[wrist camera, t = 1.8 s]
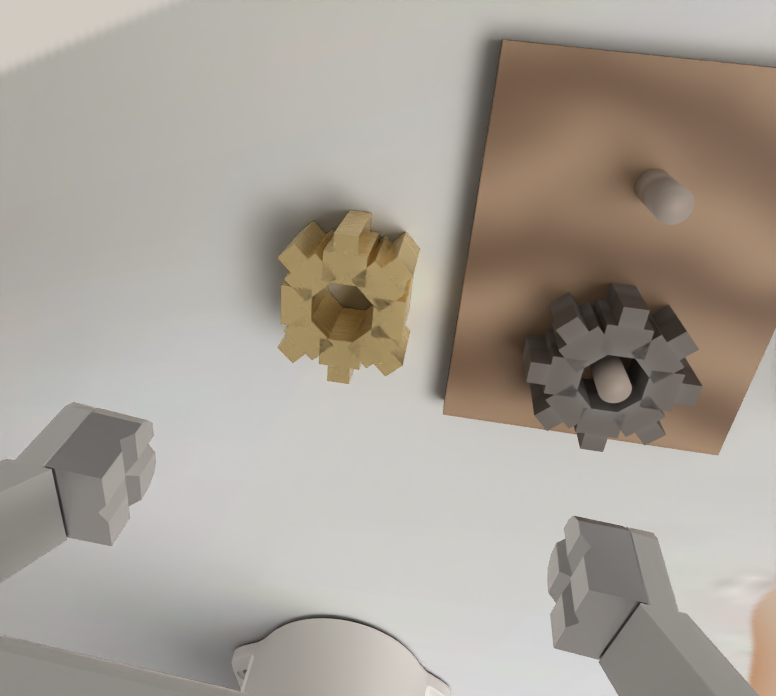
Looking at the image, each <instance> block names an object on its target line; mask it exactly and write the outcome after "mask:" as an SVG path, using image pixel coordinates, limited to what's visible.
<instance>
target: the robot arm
mask: <svg viewBox="0 0 776 696" xmlns="http://www.w3.org/2000/svg"><path fill="white" fill-rule="evenodd" d="M153 436H154V433H153V425H152V422H150V421H148V420H144V419H140V418H136V417H132V416H128V415H124V414H120V413H116V412H112V411H109V410H105V409H101V408H95V407H91V406H87V405H83V404H79V403H75V402H73V403H71V404H69V405H67V406H65V407H64V408H63V409H62V410H61V411H60V412H59V413H58V415H57V416H56V417H55V418H54V419H53V420H52V421H51V422H50V423H49V424H48V425H47V426H46V427H45V429H44V430H43V431H42V432H41V433H40V434H39V435H38V436H37V437H36V438H35V439H34V440H33V441H32V443H31V444H30V445H29V446H28V447H27V448H26V449H25V450H24V451H23V452H22V453H21V454H20V455H19V456H18V458H17V459H16V460H10V459H6V460H3V461H1V462H0V583H1V582H3V581H4V580H6V579H7V578H9V577H10V576H12V575H14V574H15V573H17V572H18V571H20V570H21V569H23V568H24V567H26V566H27V565H29V564H30V563H32V562H33V561H35V560H37V559H38V558H40V557H41V556H43V555H44V554H46V553H47V552H49V551H50V550H52V549H53V548H55V547H56V546H58V545H60V544H61V543H63V542H64V541H66V540H67V538H66V537H69V538H74V539H79V540H84V541H89V542H94V543H99V544H104V545H108V546H112V545H113V544H114V542H115V541H116V539H117V537H118V536H119V534H120V533H121V531H122V530H123V528H124V526H125V525H126V523H127V522H128V520H129V519H130V513H129V506H130V505H132V504H134V503H136V502H138V501H140V500H141V499H142V498H143V496H144V495H145V493H146V491H147V490H148V488H149V485H150V483H151V480H152V477H153V475H154V470H155V463H156V458H155V452H154V450H153V449H152V448H151V447H150V445H149V442H150V441H151V439H152V438H153ZM564 532H565V539H564V540H562V541H560V542H558V543H556V545H555V547H554V549H553V551H552V554H551V557H550V561H549V566H548V579H547V581H548V592H549V594H550V595H551V597H552V598H553V599H554V601H555V602H556V605H555V607H554V608H553V610H552V612H551V614H550V616H551V626H552V636H553V647H554V648H556V649H560V650H564V651H567V652H571V653H575V654H579V655H583V656H587V657H591V658H594V659H598V660H600V661H599V663H600V665H601V667H602V668H603V670H604V672H605V674H606V675H607V677H608V679H609V680H610V682H611V684H612V685H613V687H614V689H615V690H616V692H617V694H618V695H619V696H759V695H758V694H757V693H756V691H755V690H754V689H753V688H752V687H751V686H750V685H749V684H748V682H747V681H746V680H745V679H744V678H743V677H742V676H741V674H740V673H739V672H738V671H737V670H736V669H735V668H734V667H733V665H732V664H731V663H730V662H729V661H728V660H727V659H726V657H725V656H724V655H723V654H722V653H721V652H720V651H719V650H718V648H717V647H716V646H715V645H714V644H713V643H712V642H711V640H710V639H709V638H708V637H707V636H706V635H705V634H704V633H703V631H702V630H701V629H700V628H699V627H698V626H697V625H696V623H695V622H694V621H693V620H692V619H691V618H690V617H689V616H688V614H685V613H681V612H679V610H678V607H677V603H676V600H675V596H674V593H673V590H672V586H671V583H670V579H669V576H668V572H667V569H666V566H665V562H664V559H663V555H662V552H661V549H660V545H659V542H658V538H657V537H656V536H655V534H654V533H651V532H646V531H642V530H637V529H633V528H628V527H623V526H619V525H615V524H610V523H605V522H601V521H596V520H591V519H587V518H582V517H577V516H572V517H571V518H570V519H569V520H568V522H567V524H566V526H565V527H564ZM231 664H232V668H233V670H234V673H235V676H236V679H237V682H238V684H239V687H240V690H241V691H238V690H233V689H229V688H225V687H220V686H216V685H212V684H208V683H203V682H199V681H195V680H191V679H186V678H182V677H178V676H173V675H169V674H165V673H161V672H156V671H152V670H148V669H144V668H139V667H135V666H131V665H126V664H122V663H118V662H114V661H109V660H105V659H101V658H97V657H92V656H88V655H84V654H80V653H75V652H71V651H67V650H63V649H58V648H54V647H50V646H45V645H41V644H37V643H33V642H28V641H24V640H20V639H16V638H11V637H7V636H3V635H0V696H451V690H450V688H449V687H448V686H447V685H446V684H445V683H443V682H442V681H441V680H439V679H437V678H436V677H434V676H433V675H431V674H429V673H428V672H426V671H425V670H424V669H423V667H422V666H421V665H420V664H419V662H418V661H417V660H416V658H415V657H414V656H413V655H412V653H411V652H410V651H409V650H408V649H406V648H405V647H404V646H403V645H402V644H400V643H399V642H398V641H396V640H395V639H393V638H392V637H390V636H388V635H386V634H384V633H382V632H380V631H378V630H376V629H373V628H371V627H368V626H365V625H362V624H359V623H355V622H351V621H346V620H339V619H328V618H316V619H305V620H300V621H295V622H292V623H289V624H286V625H284V626H282V627H280V628H278V629H276V630H275V631H273V632H272V633H271V634H270V635H268V636H267V637H266V638H265V639H263V640H262V641H260V642H256V643H252V644H248V645H244V646H241V647H239V648H237V649H236V650H235V651H234V654H233V658H232V662H231Z"/></svg>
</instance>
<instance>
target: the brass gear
mask: <svg viewBox="0 0 776 696" xmlns="http://www.w3.org/2000/svg"><path fill="white" fill-rule="evenodd" d="M371 215H372V213H369V212H361V211H353V210H349V212H348V213H347V215H346V216H345V218H344V219H343V221H342V222H341V223H340V225H339V226H338V228H337V229H336V231H334V230H333V229H332V230H330V231H329V232H328V233H327V234H325V233H324V231H323V230H322V229H321V228H320V227H319V226H318V224H317V223H316V222H315V221H314V220H313V221H312V222H311V223H310V224H309V225H307V226H306V227H305V228H304V229H303V230H301V231H300V232H299V233H298V234H297V235H296V236H295V238H294V239H293V240H292V241H291V242H290V244H289V245H288V246H287V247H286V248H285V249H284V251H283V252H282V253H281V254H280V255H279V257H278V259H279V260H280V262H281V263H282V264H283V265H284V266H285V267H286V268H287V269H288V270H289V271H290V272H289V273H288V274H287V276H286V277H285V278H284V279H285V281H284V282H283V283H282V285H281V324H285V325H287V327H286V328H285V330H284V331H285V332H286V334H285V336H284V337H283V339H282V341H281V342H280V344H279V346H278V348H279V349H280V351H281V352H282V353H283V354H284V355H285V356H286V357H287V358H288V359H289V360H290V361H291V362H292V363H294V362H295V361H296V360H298V359H299V358H300V357H302V356H303V355H305V354H306V355H307V356H308V357H309V358H310V359H311V360H313V359H314V358H316V357H317V356H319V364H323V365H328V376H327V381H332V382H339V383H346V384H349V382H350V379H351V377H352V374H353V371H354V369H358V370H359V368H360V365H361V363H362V364H363V365H364V366H365V367H366V368H367V367H369V366H370V365H372V364H374V365H375V366H376V367H377V368H378V369H379V370H380V371H381V372H382V373H383V375H384V376H387V375H389V374H390V373H392V372H393V371H395V370H396V369H398V368H399V367H401V366H402V365H403V361H404V356H405V352H406V347H407V343H408V338H409V334H410V331H409V329H408V328H407V327H406V326H405V325H406V321H407V316H408V312H409V307H410V299H411V290H412V282H413V274H414V270H415V266H416V262H417V258H418V254H419V250H420V248H419V247H418V246H417V245H416V243H415V242H414V241H413V240H412V239H411V237H410V236H409V235H408V234H407V232H405V233H404V234H403V235H401V236H400V237H399V238H397V239H396V240H395V241H394V242H391V241H390V240H389V239H388V237H387V236H385V237H384V238H382V239H381V240H380V241H379V232H376V231H370V228H371ZM330 283H335V284H343V285H350V286H357V287H358V289H359V290H360V291H361V292H362V293H363V294H364V295H365V297H366V298H367V299H368V300H369V301H370V302H371V303H372V306H371V307H369V308H368V309H367V310H359V309H351V308H344V307H342V306H341V305H340V304H339V302H338V301H337V300H336V299H335V298H334V297H333V296H332V295H331V294H330V292H329V291H328V284H330Z"/></svg>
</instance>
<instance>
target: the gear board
mask: <svg viewBox="0 0 776 696" xmlns="http://www.w3.org/2000/svg"><path fill="white" fill-rule="evenodd" d="M775 328H776V67H766V66H757V65H747V64H737V63H728V62H718V61H708V60H698V59H689V58H679V57H669V56H660V55H650V54H640V53H630V52H621V51H611V50H601V49H592V48H582V47H572V46H562V45H553V44H543V43H533V42H524V41H514V40H504V39H502V44H501V50H500V56H499V63H498V69H497V75H496V81H495V87H494V94H493V100H492V106H491V112H490V119H489V125H488V131H487V137H486V143H485V150H484V156H483V162H482V168H481V174H480V181H479V187H478V193H477V199H476V206H475V212H474V218H473V224H472V230H471V237H470V243H469V249H468V255H467V262H466V268H465V274H464V280H463V286H462V293H461V299H460V305H459V311H458V317H457V324H456V330H455V336H454V342H453V349H452V355H451V361H450V367H449V373H448V380H447V386H446V392H445V398H444V408H443V414H444V415H450V416H457V417H464V418H470V419H477V420H484V421H491V422H497V423H504V424H511V425H517V426H524V427H531V428H538V429H544V430H547V431H548V430H551V431H558V432H564V433H571V434H577V437H578V441H579V445H580V449H587V450H594V451H600V452H603V450H604V447H605V444H606V441H607V439H612V440H618V441H625V442H632V443H638V444H644V445H652V446H659V447H665V448H672V449H679V450H685V451H692V452H699V453H706V454H712V455H718V454H719V452H720V450H721V447H722V445H723V443H724V441H725V439H726V436H727V434H728V432H729V430H730V428H731V425H732V423H733V421H734V419H735V416H736V414H737V412H738V410H739V408H740V405H741V403H742V401H743V399H744V397H745V394H746V392H747V390H748V388H749V386H750V383H751V381H752V379H753V377H754V374H755V372H756V370H757V368H758V366H759V363H760V361H761V359H762V357H763V355H764V352H765V350H766V348H767V346H768V344H769V341H770V339H771V337H772V335H773V332H774V330H775Z"/></svg>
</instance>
